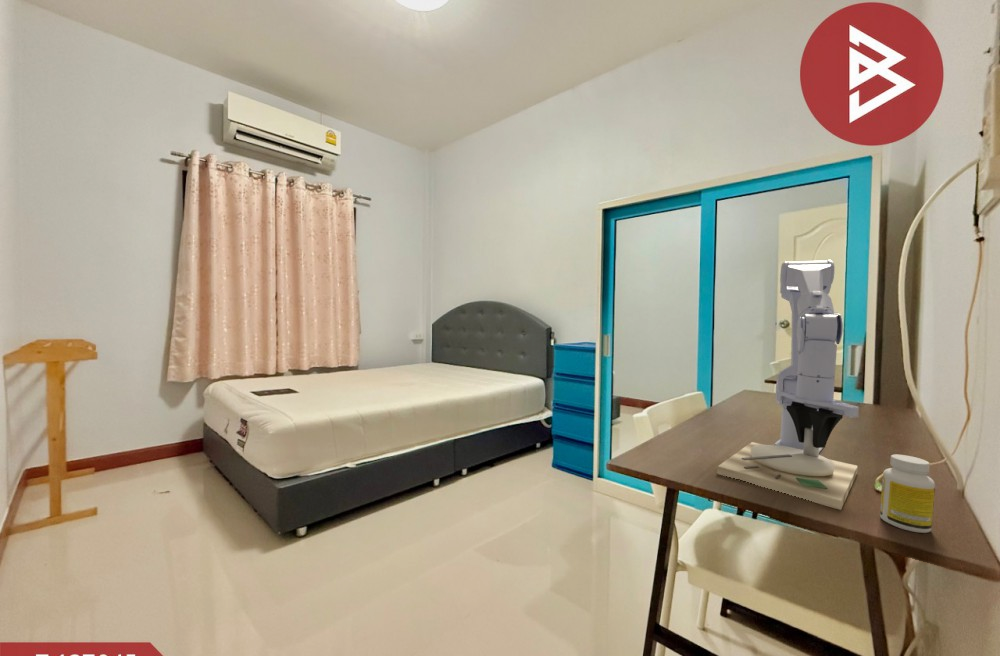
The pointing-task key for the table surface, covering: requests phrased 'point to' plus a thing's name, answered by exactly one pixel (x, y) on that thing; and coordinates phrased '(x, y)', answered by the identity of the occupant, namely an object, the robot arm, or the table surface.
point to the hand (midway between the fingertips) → (811, 444)
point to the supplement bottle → (908, 494)
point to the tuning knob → (794, 458)
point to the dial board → (793, 479)
